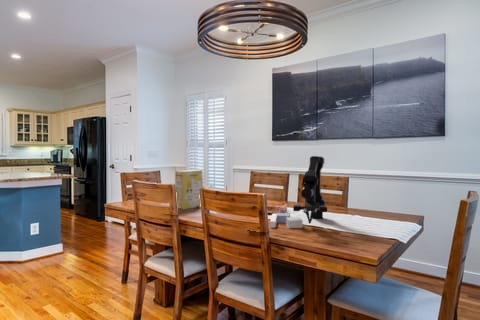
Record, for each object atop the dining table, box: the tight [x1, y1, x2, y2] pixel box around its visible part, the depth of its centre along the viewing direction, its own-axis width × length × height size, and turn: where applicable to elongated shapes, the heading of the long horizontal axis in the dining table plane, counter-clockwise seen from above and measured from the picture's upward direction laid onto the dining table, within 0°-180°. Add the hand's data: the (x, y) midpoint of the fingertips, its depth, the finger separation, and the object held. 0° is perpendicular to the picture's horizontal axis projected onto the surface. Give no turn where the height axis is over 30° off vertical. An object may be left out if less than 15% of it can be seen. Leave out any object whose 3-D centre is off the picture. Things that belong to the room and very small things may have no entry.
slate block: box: [276, 212, 291, 224], centre depth 194 cm, size 8×8×4 cm
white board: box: [269, 213, 278, 228], centre depth 189 cm, size 3×22×4 cm, turn 170°
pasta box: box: [174, 169, 203, 210], centre depth 243 cm, size 18×10×28 cm, turn 138°
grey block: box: [285, 216, 303, 229], centre depth 182 cm, size 8×8×4 cm
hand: (309, 223), depth 181 cm, fingers closed
